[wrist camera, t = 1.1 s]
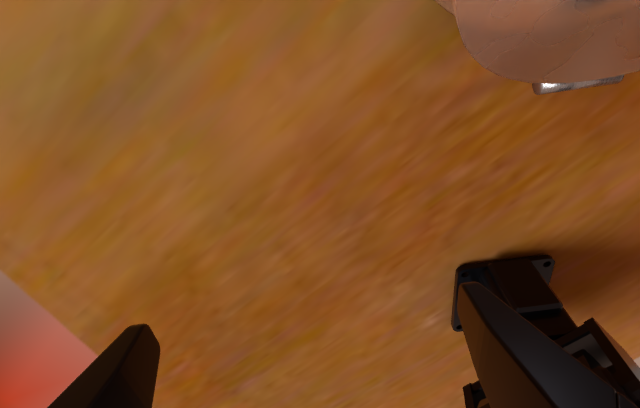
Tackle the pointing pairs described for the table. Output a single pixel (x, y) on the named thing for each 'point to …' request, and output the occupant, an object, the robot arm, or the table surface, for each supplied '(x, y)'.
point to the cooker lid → (553, 40)
